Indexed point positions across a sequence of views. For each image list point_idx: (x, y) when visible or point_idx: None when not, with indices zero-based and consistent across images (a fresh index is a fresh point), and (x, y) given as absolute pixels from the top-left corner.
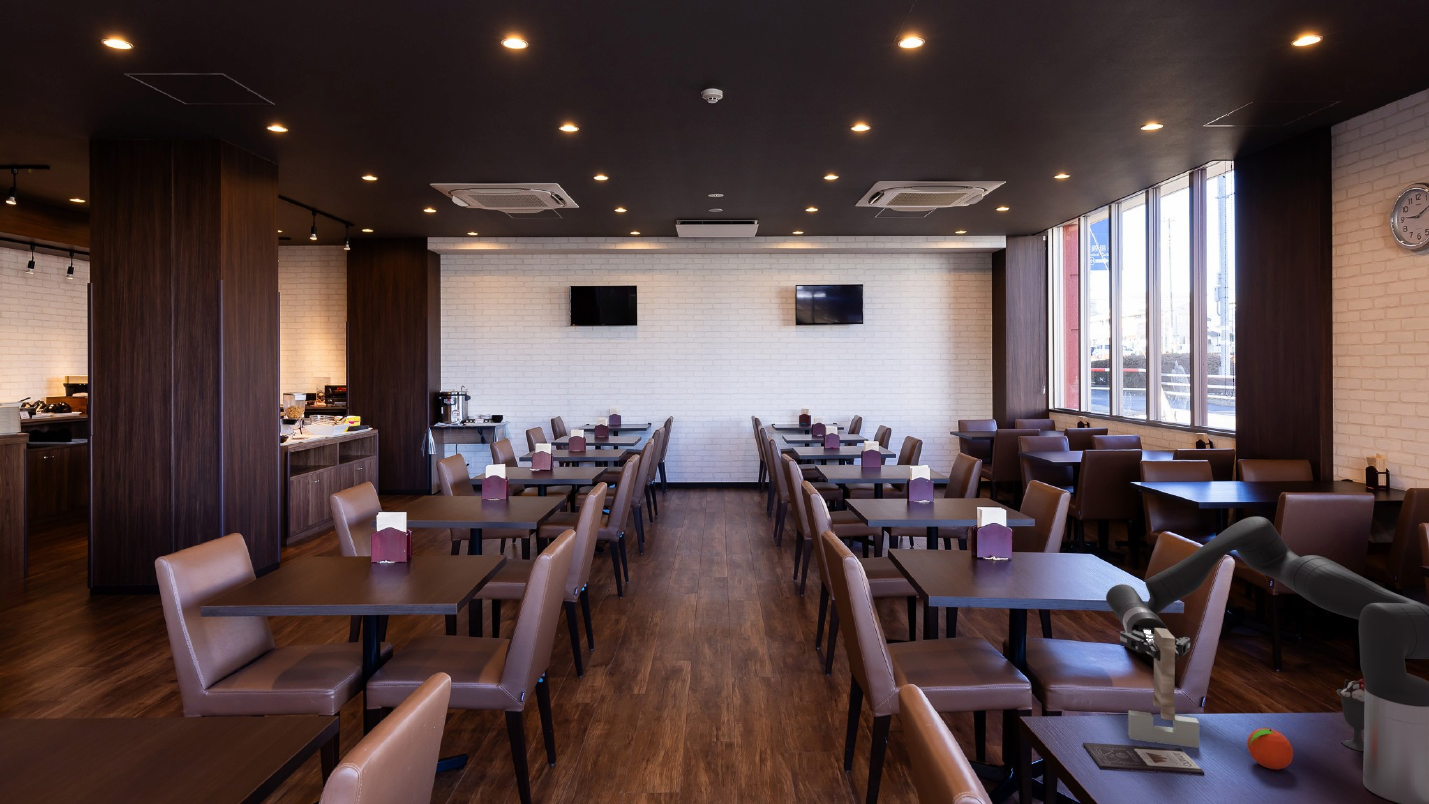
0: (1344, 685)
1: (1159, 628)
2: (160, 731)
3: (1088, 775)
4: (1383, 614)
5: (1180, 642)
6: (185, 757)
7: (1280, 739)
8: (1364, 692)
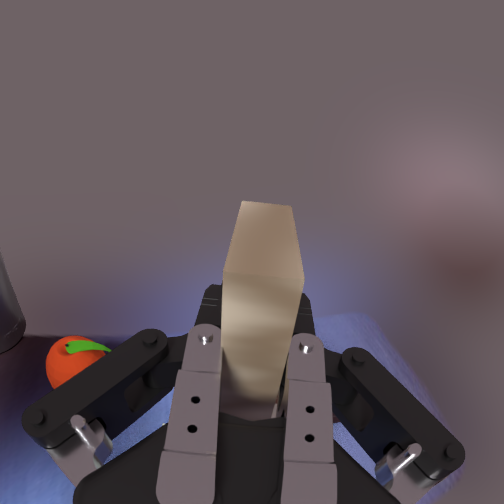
0: None
1: (273, 271)
2: None
3: (370, 337)
4: None
5: (129, 358)
6: None
7: (69, 336)
8: None
